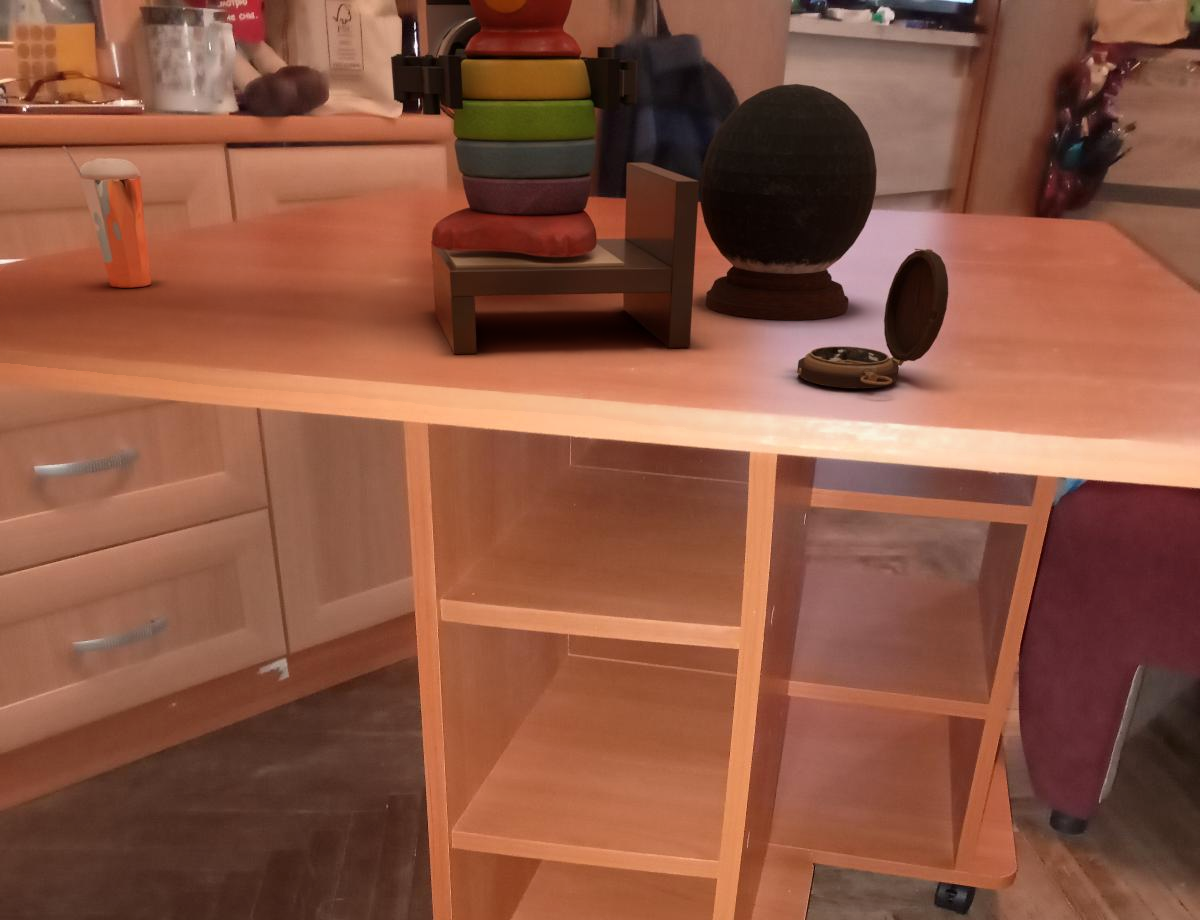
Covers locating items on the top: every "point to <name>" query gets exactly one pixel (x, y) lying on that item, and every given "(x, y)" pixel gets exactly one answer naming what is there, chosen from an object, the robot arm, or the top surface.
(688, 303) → the dollhouse bed
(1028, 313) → the top surface
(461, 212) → the stacking bear
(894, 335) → the compass
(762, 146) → the dark ball on base
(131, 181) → the milkshake
